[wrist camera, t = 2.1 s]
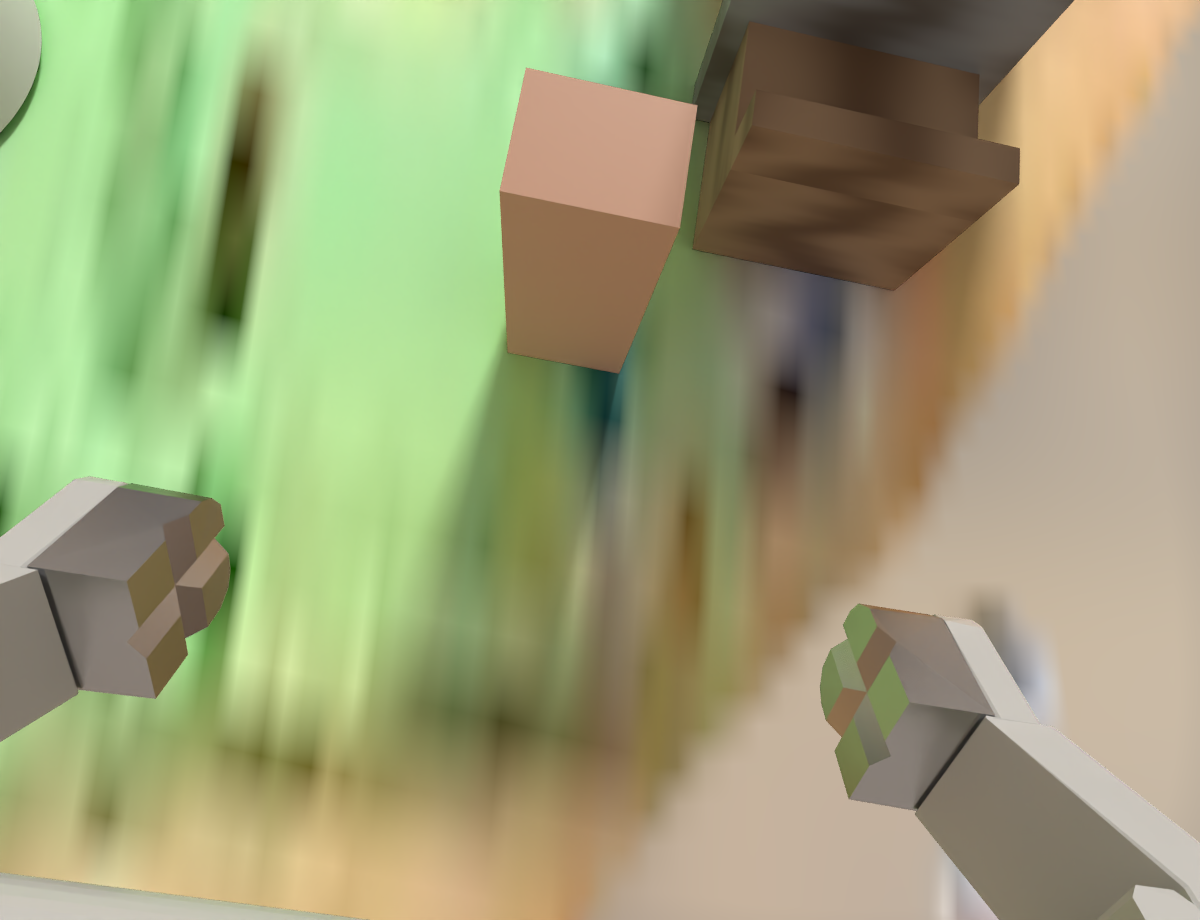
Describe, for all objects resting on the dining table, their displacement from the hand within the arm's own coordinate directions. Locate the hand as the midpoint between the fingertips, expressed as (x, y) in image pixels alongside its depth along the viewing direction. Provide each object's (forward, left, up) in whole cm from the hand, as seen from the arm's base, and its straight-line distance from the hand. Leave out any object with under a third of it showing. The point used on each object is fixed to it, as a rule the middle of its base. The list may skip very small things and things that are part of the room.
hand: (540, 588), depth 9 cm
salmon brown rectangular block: (0, +12, -20) cm, 23 cm away
